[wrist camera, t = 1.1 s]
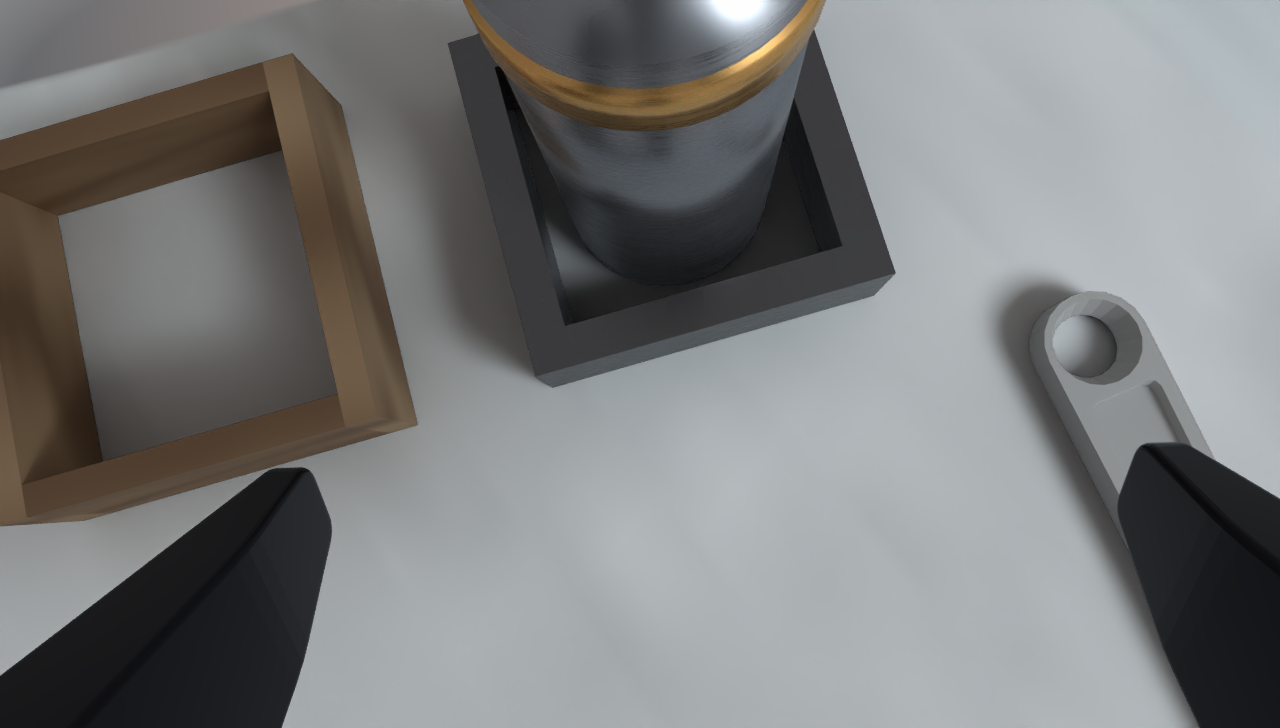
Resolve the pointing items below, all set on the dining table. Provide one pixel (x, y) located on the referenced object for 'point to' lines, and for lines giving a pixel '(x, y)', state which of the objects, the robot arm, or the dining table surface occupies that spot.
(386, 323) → the wooden square frame
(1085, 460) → the adjustable wrench
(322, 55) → the dining table surface
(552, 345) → the socket block
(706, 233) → the brass-banded metal cylinder
